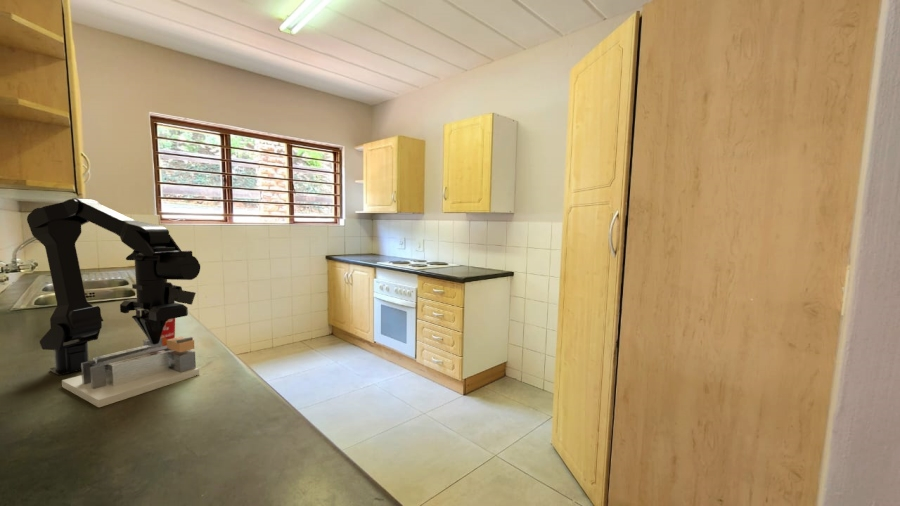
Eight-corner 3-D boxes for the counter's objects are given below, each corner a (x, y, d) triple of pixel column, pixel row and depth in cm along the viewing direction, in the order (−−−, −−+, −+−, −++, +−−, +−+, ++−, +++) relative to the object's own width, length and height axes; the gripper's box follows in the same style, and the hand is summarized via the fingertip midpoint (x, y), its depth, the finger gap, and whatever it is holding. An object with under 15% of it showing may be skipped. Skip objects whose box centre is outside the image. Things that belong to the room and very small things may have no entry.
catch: (166, 348, 86) (166, 337, 86) (181, 344, 88) (180, 334, 88) (180, 352, 83) (179, 341, 83) (194, 348, 85) (194, 337, 85)
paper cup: (141, 355, 99) (138, 304, 98) (148, 347, 105) (146, 299, 104) (176, 351, 102) (174, 302, 101) (181, 343, 109) (179, 297, 108)
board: (62, 386, 79) (61, 380, 79) (159, 360, 95) (159, 355, 95) (98, 407, 70) (98, 400, 70) (199, 374, 86) (199, 368, 86)
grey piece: (72, 378, 80) (70, 356, 79) (159, 355, 94) (158, 336, 94) (106, 395, 72) (104, 371, 71) (195, 368, 86) (194, 347, 86)
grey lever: (92, 368, 77) (91, 364, 77) (172, 346, 91) (172, 343, 91) (98, 370, 76) (97, 367, 76) (178, 348, 89) (178, 345, 89)
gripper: (210, 277, 88) (212, 340, 89) (170, 273, 96) (173, 330, 97) (155, 283, 78) (159, 354, 79) (117, 278, 87) (121, 341, 88)
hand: (155, 343), depth 86 cm, fingers closed
